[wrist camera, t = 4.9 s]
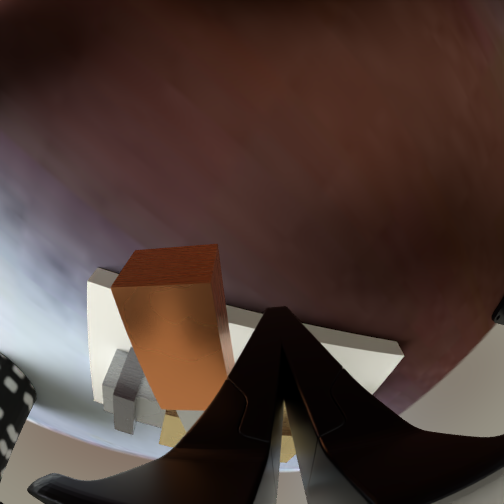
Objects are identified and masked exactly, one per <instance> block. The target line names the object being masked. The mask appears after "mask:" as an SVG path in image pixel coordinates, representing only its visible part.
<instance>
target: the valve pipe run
mask: <svg viewBox="0 0 504 504" xmlns="http://www.w3.org/2000/svg"><path fill="white" fill-rule="evenodd" d="M102 393H103V404H104V411H107V412H110V413H113V414H114V426H115V429H116V430H119V431H122V432H125V433H129V434H132V435H133V433H134V429H135V425H136V421H138V422H142V423H145V424H149V425H152V426H156V427H160V428H162V430H161V436H160V441H159V444H161V445H165V446H169V447H174V446H175V445H176V444H177V443H178V442H179V441H180V440H181V439H182V437H183V436H184V435H185V434H186V433H187V432H186V430H185V428H184V426H183V424H182V422H181V420H180V418H179V416H178V414H177V412H176V410H167V409H161V408H160V406H159V404H158V402H157V400H156V398H155V396H154V394H153V392H152V389H151V387H150V385H149V383H148V381H147V379H146V377H145V374H144V372H143V370H142V368H141V366H140V363H139V361H138V359H137V356H136V354H135V352H134V349H133V347H131V348H130V350H129V353H128V352H125V351H122V350H119V349H117V350H116V352H115V354H114V357H113V359H112V361H111V364H110V366H109V368H108V371H107V373H106V376H105V378H104V381H103V383H102ZM295 454H296V451H295V446H294V442H293V438H292V433H291V429H290V425H289V420H288V416H287V412H286V407H285V403H284V409H283V425H282V440H281V454H280V462H284V463H287V462H288V461H289V460H290V459H291V458H292V457H293V456H294V455H295Z"/></svg>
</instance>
